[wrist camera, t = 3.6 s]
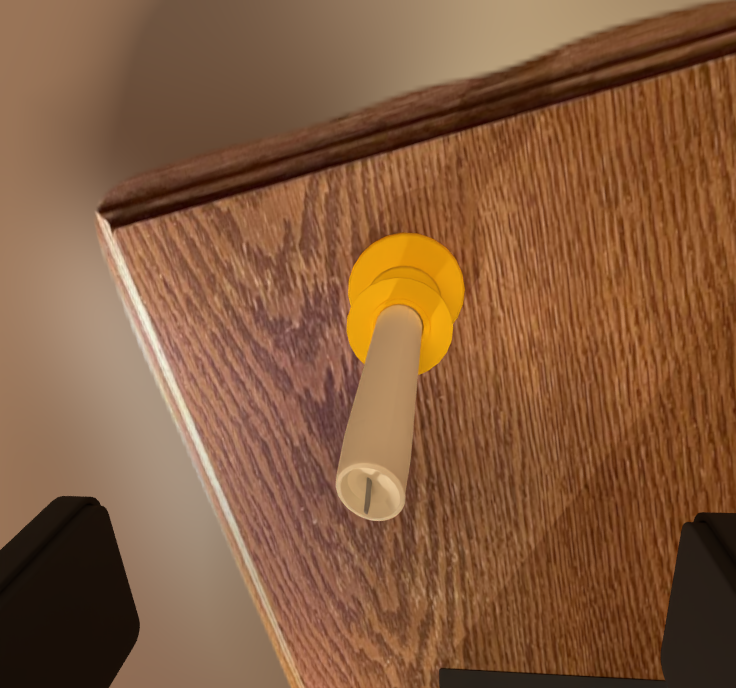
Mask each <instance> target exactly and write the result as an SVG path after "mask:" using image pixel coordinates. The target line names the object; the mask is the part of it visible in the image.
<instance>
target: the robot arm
mask: <svg viewBox="0 0 736 688" xmlns="http://www.w3.org/2000/svg"><path fill="white" fill-rule="evenodd" d="M139 628H140V622H139V617H138V614H137V610H136V607H135V603H134V600H133V597H132V593H131V590H130V586H129V583H128V579H127V576H126V573H125V569H124V566H123V562H122V559H121V555H120V552H119V548H118V545H117V542H116V538H115V534H114V531H113V527H112V524H111V521H110V517H109V514H108V511H107V510H106V508H105V507H104V506H101V505H100V503H99V501H98V500H97V499H96V498H93V497H78V496H77V497H76V496H62V497H58V498H56V499H55V500H53V501H52V502H51V503H50V504H49V505H48V506H47V507H46V508H44V509H43V510H42V511H41V512H40V513H39V514H38V515H37V516H36V517H35V518H34V519H33V520H32V521H31V522H30V523H29V524H27V525H26V526H25V527H24V528H23V529H22V530H21V531H20V532H19V533H18V534H17V535H16V536H15V537H14V538H13V539H12V540H11V541H10V542H8V543H7V544H6V545H5V546H4V547H3V548H2V549H1V550H0V688H109V686H110V685H111V683H112V682H113V680H114V678H115V677H116V675H117V673H118V672H119V670H120V668H121V667H122V665H123V663H124V662H125V660H126V658H127V657H128V655H129V653H130V652H131V650H132V648H133V647H134V645H135V643H136V641H137V638H138V635H139ZM661 665H662V671H663V675H664V678H665V681H666V683H667V686H668V688H736V513H706V512H701V513H698V514H697V515H696V517H695V519H694V522H686V523H685V524H684V525H683V527H682V531H681V537H680V542H679V548H678V554H677V560H676V566H675V572H674V578H673V584H672V589H671V595H670V601H669V607H668V613H667V619H666V625H665V630H664V636H663V642H662V648H661Z"/></svg>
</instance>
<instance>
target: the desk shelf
mask: <svg viewBox="0 0 736 688" xmlns="http://www.w3.org/2000/svg"><path fill="white" fill-rule="evenodd" d="M439 685H440V688H668V686H667V683H666V681H655V680H637V679H618V678H600V677H582V676H564V675H545V674H527V673H509V672H491V671H472V670H454V669H440V670H439Z"/></svg>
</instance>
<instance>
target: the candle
mask: <svg viewBox="0 0 736 688" xmlns="http://www.w3.org/2000/svg"><path fill="white" fill-rule="evenodd" d="M464 292H465V288H464V281H463V275H462V271H461V269H460V267H459V265H458V263H457V261H456V259H455V257H454V256H453V255H452V254H451V253H450V252H449V250H448V249H447V248H446V247H445V246H443V245H442V244H440V243H439V242H437V241H436V240H434V239H433V238H430V237H427V236H424V235H421V234H418V233H404V232H402V233H397V234H392V235H387V236H385V237H383V238H381V239H379V240H377V241H375V242H373V243H372V244H371V245H370V246H369V247H368V248H367V249H366V250H364V251H363V252H362V254H361V255H360V257H359V258H358V260H357V261H356V263H355V264H354V266H353V269H352V272H351V275H350V278H349V290H348V296H349V300H350V305H351V308H350V311H349V315H348V318H347V335H348V339H349V343H350V346H351V347H352V349H353V351H354V353H355V355H356V356H357V357H358V358H359V359H360V360H361V362H362V363H363V364H364V368H363V371H362V375H361V378H360V382H359V386H358V389H357V393H356V396H355V400H354V403H353V407H352V410H351V414H350V418H349V421H348V425H347V428H346V432H345V435H344V440H343V445H342V450H341V455H340V460H339V465H338V470H337V475H336V489H337V493H338V496H339V497H340V499H341V501H342V502H343V504H344V505H345V506H346V507H347V508H348V509H349V510H351V511H352V512H353V513H355V514H356V515H358V516H360V517H362V518H364V519H368V520H372V521H384V520H388V519H391V518H393V517H395V516H397V515H398V514H399V513H400V512H401V511H402V509H403V507H404V505H405V498H406V495H405V492H406V486H407V480H408V474H409V468H410V461H411V450H412V438H413V427H414V415H415V404H416V392H417V381H418V375H419V374H422V373H424V372H427V371H428V370H430V369H431V368H432V367H434V366H435V365H436V364H438V363H439V362H440V360H441V359H442V358H443V357H444V355H445V354H446V353H447V350H448V348H449V346H450V343H451V341H452V332H453V323H454V322H455V320H456V319H457V318H458V315H459V313H460V310H461V308H462V306H463V300H464Z"/></svg>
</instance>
